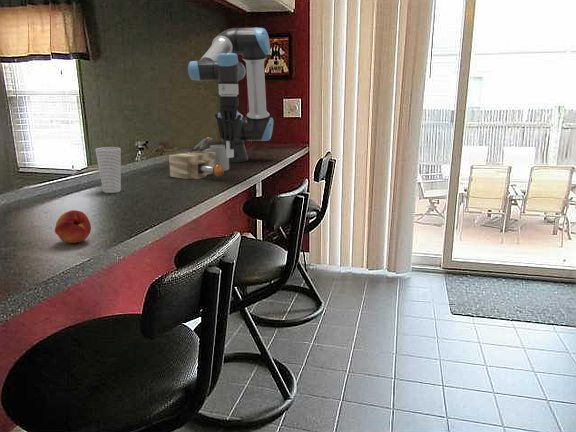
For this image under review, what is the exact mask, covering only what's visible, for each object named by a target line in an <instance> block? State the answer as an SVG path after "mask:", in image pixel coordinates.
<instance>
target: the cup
mask: <svg viewBox="0 0 576 432" xmlns="http://www.w3.org/2000/svg"><path fill="white" fill-rule="evenodd" d="M94 151H95V155H96V162H97V167H98V173H99V178H100V182H101V187H102V188H101V189H102V191H103V193H105V194H113V193H119V192H121V191H122V185H121V183H122V177H121V176H122V175H121V174H122V173H121V172H122V168H121V167H122V162H121V161H122V159H121V158H122V157H121V156H122V154H121V153H122V152H121V151H122V149H121V147H117V146H106V147H96V148H95V149H94Z"/></svg>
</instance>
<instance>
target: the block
mask: <svg viewBox="0 0 576 432" xmlns="http://www.w3.org/2000/svg"><path fill="white" fill-rule="evenodd" d="M192 149H193V148H188V152H183V153H182V152H181V153H176V154H170V155H168V159H169V160H168V162H169V175H170V176H169V177H171V178H177V179H179V178H180V179H185V180H188V179H195V180H198V179H199V180H200V179H204V178H207V175H214V174H213V173H208V172H200V171H198V165H203V166H211V167H214V166H215V165H216V153H215V152H204V151H205V150H203V148H202V149H201V150H200V151H195V152H193V151H192Z"/></svg>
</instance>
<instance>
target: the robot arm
mask: <svg viewBox="0 0 576 432" xmlns="http://www.w3.org/2000/svg"><path fill="white" fill-rule="evenodd" d="M270 53H271V45H270V37H269V34H268V32H267V30H266V29H265V28H264V27H256V26H255V27H232V28H228V29H226V30H224V31H222V32H221V33H219V34H218V35H216V36H215V37H213V39H212V42H211V46H210V47H209V49H208V50H207V51H206V52H205V53H204V54H203V55H202V57H201V58H200V59H199V60H191V61H190V62H189V63H188V65H187V66H188V67H187V73H188V76H189V78H190V80H192V81H199V82H200V81H202V82H203V81H204V82H206V81H207V82H208V81H211V82H212V81H218V82H217V83H218V95H219V97H218V105H219V112H218V113H215V114H214V117H215V119H216V123H217V128H218V132H219V138H220V140H221V145H225V149H226V156H227V158H229V163H244V162H248V161H249V155H248V153H247V150H246V146H245V141H247V142H248V141H251V142H252V141H253V142H254V141H255V142H267V141H270V140H271V139H272V135H273V131H274V130H273V129H274V118H273V117H271V115H270V112H268V111H267V96H266V95H267V94H266V93H267V92H266V81H265V80H266V78H265V77H266V76H265V61H266V60H267V59H268V55H270ZM239 55H241V57H242V58H241V59H242V60H243V61H244V62H245V65H244V64H243V63H242V62H240V61H239V59H238V58H239V57H238V56H239ZM245 76H246V82H247V84H246V85H247V95H248V96H247V97H248V98H247V99H248V111H249V112H247V113H246V117H245V115H244V114H241V113H240V110H239V108H238V107H239V105H240V103H239V96H238V95H239V94H240V93H239V81H241V80H243V79H244V77H245Z"/></svg>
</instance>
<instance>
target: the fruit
mask: <svg viewBox="0 0 576 432" xmlns="http://www.w3.org/2000/svg"><path fill="white" fill-rule="evenodd" d="M91 230H92V225H91V222H90V219H89V217H88V215H86V213H84V212H83V211H80V210H75V209H73V210H68V211H66V212H64V213H63V214H61V215H60V216H59V217H58V219H57V221H56V223H55V227H54V233H55V234H56V235H57V237H58V238H59V239H60V240H61V241H62V242H65V243H68V244H77V242H78V243H80V242H83V241H84V240H86V239H87V238H88V237H89V235H90V234H91V232H92V231H91Z"/></svg>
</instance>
